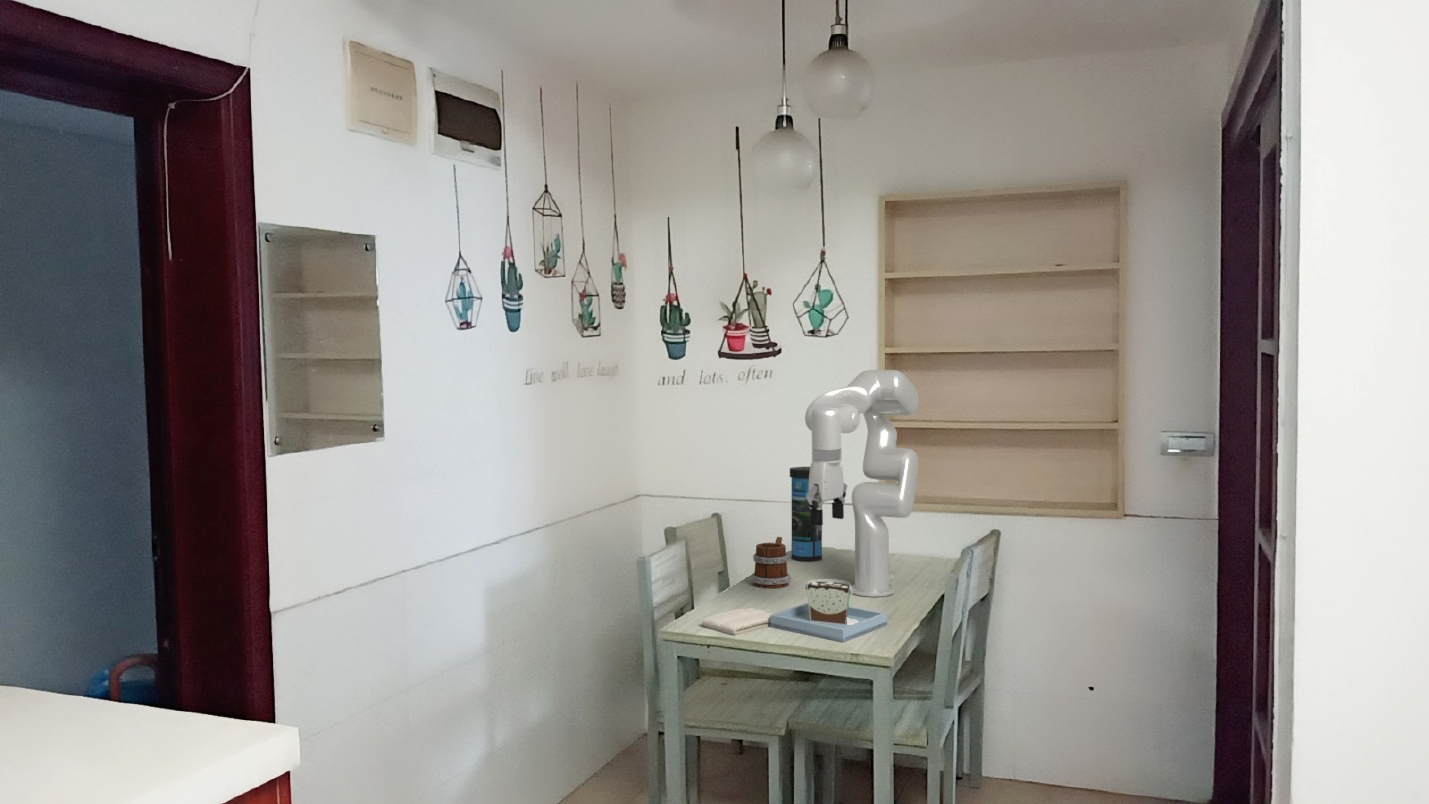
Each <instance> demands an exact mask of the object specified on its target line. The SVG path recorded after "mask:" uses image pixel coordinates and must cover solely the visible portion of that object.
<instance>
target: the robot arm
mask: <svg viewBox="0 0 1429 804" xmlns="http://www.w3.org/2000/svg"><path fill="white" fill-rule="evenodd" d="M919 397H920V396H919V393H918V391H917V389H916V387H915V386H914V385H913V383H912V382H911V380H910V379H909V378H908V376H906V375H905V374H904V373H902V372H901V371H899V370H896V369H868V370H864V371H861V372H860V373H859V374H857V376H856V377H855V378H853V380H851V382H850V383H848V385H847V386H844V387H840V388H838V389H834V390H832V391H829V392H825V393H823V394H821V395H818V396H817V397H816V398H815V399H814V400H813V401H812V402H811V403H810V404H809V405H808V407H807V409H806V410H805V415H804V422H805V425H806V427H807V428H808V429H809V430H810V431H811V463H810V466H809V467H810V473H809V492H808V493H807V494H806V497H807V500H808V504H809V506H810V509H811V524H812V525H820V526H821V525H822V526H823V525H824V521H823V520H824V517H823V515H824V514H823V510H824V509H822V510H821V507H822V508H823V505H824V503H825V502H828V501H833V502H832V503H831V510H832V511H831V517H832V518H833V519H838V520H843V519H845V517H844V514H845V513H844V511H845V510H844V508H845V507H844V506H845V505H844V504H845V501H846V500H845V498H846V496H847V489H848V485H847V483H845V482H844V471H843V463H842V434H851V433H852V432H855V431H856V430H857V429H858V427H859V426H860V422H861V415H860V414H862V415H863V418H864V420H865V424H866V428H867V437H866V443H865V449H864V455H863V461H862V472H863V474H864V476H865V477H867V478H868V479H870V480H871V479H872V480H879V481H891V482H892V481H893V482H898V483H888V482H876V481H866V482H860V483H858V484H856V485H855V486H854V487H853V489H852V491H851V492H852V493H851V505H852V510H853V515H854V584H853V585H852V584H851V587H852V592H853V593H852V595H856V596H860V597H873V598H874V597H876V598H877V597H878V598H879V597H887V596H890V595H893V594H894V593H895V589H894V586H891V585H890V582H893V581H895V580H896V575H894V574H893V573H890V574H889V563H890V561H889V557H890V555H889V545H890V544H889V541H890V540H889V538H890V537H889V533H890V532H889V529H888V526H887V525H886V523H885V522H884V520H883V518H884V517H886V518H897V519H899V518H900V519H901V518H902V519H904V518H907V517H908V518H909V516H910V515H911V514H912V512H913V508H914V503H915V499H916V492H917V491H916V490H917V484H918V483H917V482H918V477H919V470H920V469H919V468H920V465H919V462H920V461H919V457H918V454H917V452H915V450H913V449H911V448H906V447H897V438H898V432H897V429H896V427H895V425H894V424H893V423H892V421H891V420H890V419H889V418H888V416H905V417H906V416H911V415H914V414H915V413H916V412H917V411H918V408H919V403H920V398H919ZM816 501H817V502H819V503H818V504H817V502H816ZM882 517H883V518H882ZM850 593H851V591H850Z"/></svg>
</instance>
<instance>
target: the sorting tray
mask: <svg viewBox="0 0 1429 804" xmlns="http://www.w3.org/2000/svg"><path fill="white" fill-rule="evenodd" d="M848 618H850V619H856V620H858V621H859V622H858V623H855V624H853V625H847V624H846V625H840V624H830V623H821V622H812V621H810V613H809V603H808V602H805V603H803V604H799V605H796V606H793V607H791V608H787V609H785V610H781V611H779V612H775V613H772V615H770V626H769V627H770V628H774V629H779V630H783V631H788V632H792V633H796V634H801V635H806V636H811V637H816V638H819V639H825V640H829V641H834V642H835V641H836V642H839V643H846V642H848V641H850V640H852V639H855V638H858V637H861V636H864V635H865V634H868V633H871V632H874V631H875V630H878V629H880V628H884V627H885V626H887V625H888V613H886V612H881V611H875V610H870V609H865V608H859V607H854V606H849V607H848Z"/></svg>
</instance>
